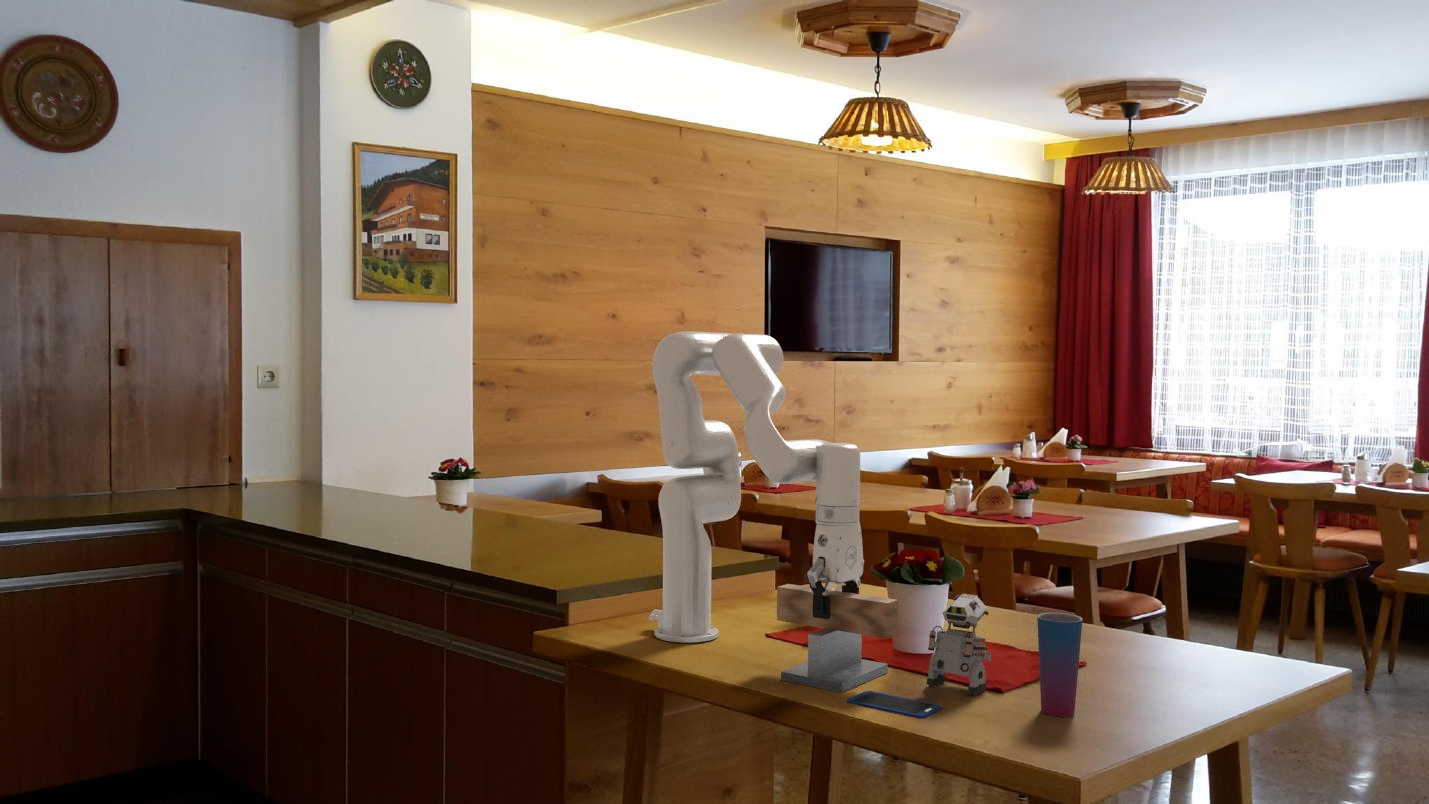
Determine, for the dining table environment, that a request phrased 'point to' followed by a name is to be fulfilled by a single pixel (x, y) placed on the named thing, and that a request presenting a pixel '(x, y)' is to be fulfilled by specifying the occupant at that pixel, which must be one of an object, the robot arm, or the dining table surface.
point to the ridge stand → (834, 662)
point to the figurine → (960, 645)
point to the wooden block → (839, 611)
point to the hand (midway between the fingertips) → (836, 613)
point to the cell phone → (895, 704)
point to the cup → (1058, 662)
